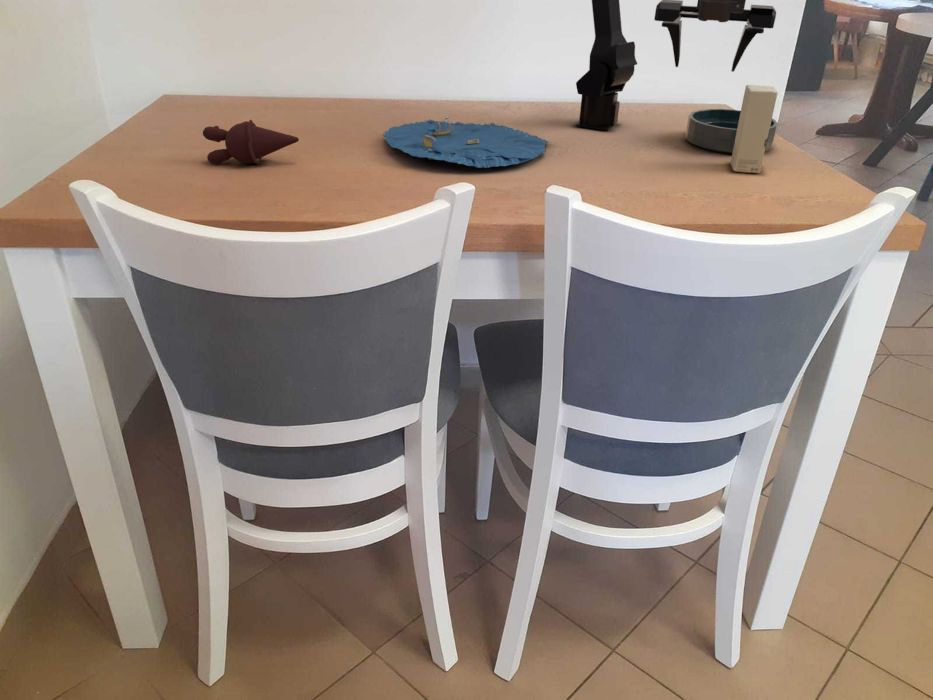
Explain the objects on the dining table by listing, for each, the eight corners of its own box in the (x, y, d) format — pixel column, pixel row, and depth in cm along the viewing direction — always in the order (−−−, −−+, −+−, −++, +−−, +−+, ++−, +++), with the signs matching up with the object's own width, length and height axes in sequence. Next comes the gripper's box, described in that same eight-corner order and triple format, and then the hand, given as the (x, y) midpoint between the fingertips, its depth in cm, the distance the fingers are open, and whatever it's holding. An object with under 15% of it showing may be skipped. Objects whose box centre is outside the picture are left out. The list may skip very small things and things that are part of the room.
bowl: (676, 148, 132) (681, 122, 129) (694, 128, 143) (698, 105, 141) (765, 161, 126) (771, 134, 124) (776, 140, 138) (782, 115, 136)
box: (760, 174, 120) (779, 92, 113) (732, 172, 120) (749, 90, 114) (756, 164, 124) (774, 85, 117) (728, 162, 125) (745, 83, 118)
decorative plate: (443, 123, 147) (443, 96, 145) (576, 149, 133) (579, 119, 130) (339, 150, 126) (338, 119, 123) (484, 184, 111) (486, 149, 109)
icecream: (300, 116, 120) (208, 123, 120) (290, 115, 113) (193, 123, 113) (306, 160, 122) (215, 167, 122) (297, 162, 115) (201, 169, 115)
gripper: (659, -34, 113) (643, 72, 121) (788, -28, 108) (763, 83, 117) (665, -38, 122) (650, 61, 130) (784, -33, 118) (761, 70, 126)
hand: (704, 68), depth 126 cm, fingers open, 9 cm apart
